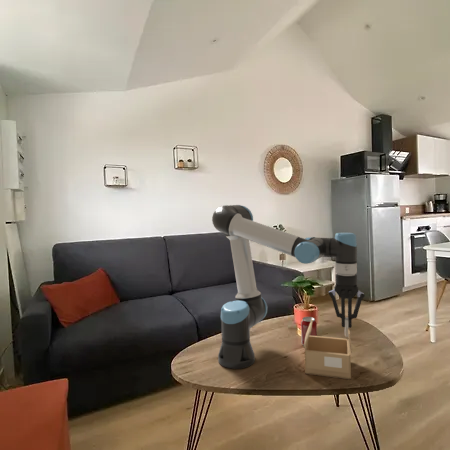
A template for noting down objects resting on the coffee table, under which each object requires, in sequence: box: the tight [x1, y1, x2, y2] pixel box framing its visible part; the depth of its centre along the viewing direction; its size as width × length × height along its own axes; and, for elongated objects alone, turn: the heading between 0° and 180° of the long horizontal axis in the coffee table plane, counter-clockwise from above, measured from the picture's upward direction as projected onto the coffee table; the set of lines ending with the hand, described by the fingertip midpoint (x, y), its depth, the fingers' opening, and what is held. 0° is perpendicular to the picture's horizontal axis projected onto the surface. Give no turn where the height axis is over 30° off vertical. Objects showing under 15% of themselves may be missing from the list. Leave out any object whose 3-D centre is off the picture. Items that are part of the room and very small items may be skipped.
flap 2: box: [347, 328, 353, 354], centre depth 120 cm, size 7×13×1 cm
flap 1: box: [303, 319, 313, 349], centre depth 125 cm, size 7×13×1 cm
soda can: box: [300, 316, 318, 346], centre depth 144 cm, size 7×7×12 cm
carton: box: [304, 335, 352, 380], centre depth 123 cm, size 16×15×9 cm
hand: (346, 335), depth 120 cm, fingers closed
